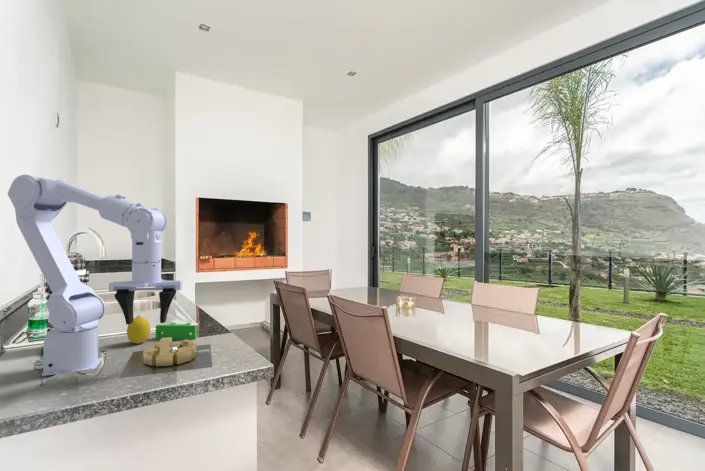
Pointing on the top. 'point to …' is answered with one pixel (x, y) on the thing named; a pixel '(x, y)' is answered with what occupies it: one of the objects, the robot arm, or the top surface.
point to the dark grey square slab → (139, 368)
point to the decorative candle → (80, 270)
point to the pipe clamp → (176, 331)
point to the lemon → (138, 330)
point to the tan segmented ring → (169, 352)
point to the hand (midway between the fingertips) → (146, 322)
